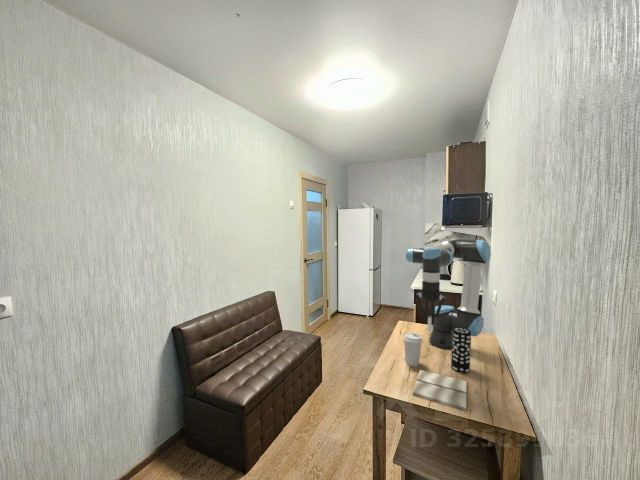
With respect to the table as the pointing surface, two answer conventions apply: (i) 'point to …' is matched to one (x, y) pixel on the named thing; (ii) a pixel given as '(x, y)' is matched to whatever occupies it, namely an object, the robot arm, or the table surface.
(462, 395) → the laid board
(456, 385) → the plank
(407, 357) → the coffee cup
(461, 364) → the spotted tube
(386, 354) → the table surface
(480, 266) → the robot arm
